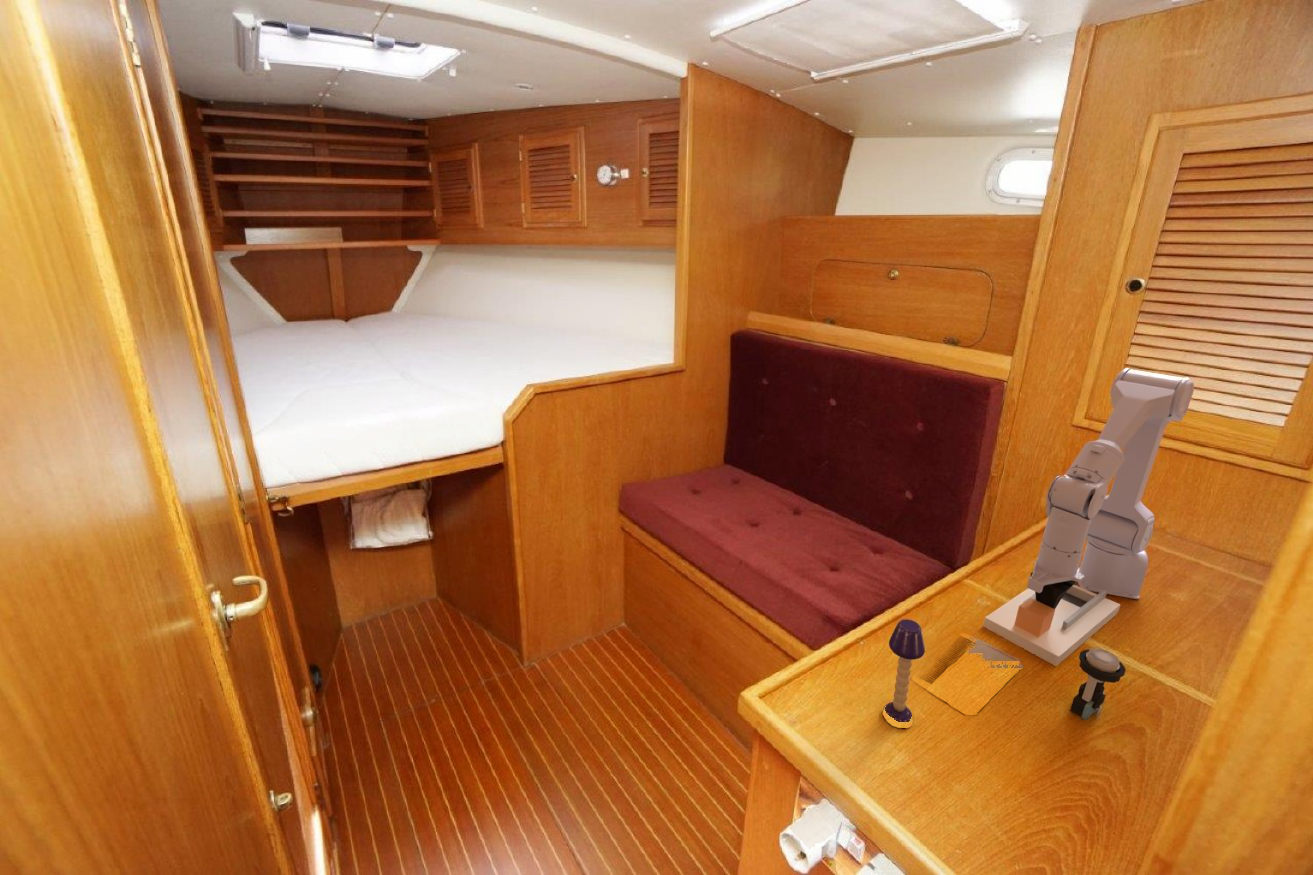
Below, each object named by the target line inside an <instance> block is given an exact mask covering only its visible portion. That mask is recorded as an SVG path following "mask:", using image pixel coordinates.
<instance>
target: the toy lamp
mask: <svg viewBox="0 0 1313 875" xmlns="http://www.w3.org/2000/svg"><path fill="white" fill-rule="evenodd" d="M888 642H889V643H888V646H889V649H890V650H891V651H892V653H894V654H895V655H896V656H898V659H897V660H898V661H897V663H898V665H897V669H896V673H897V674H896V676H895V684H894V689H895V690H894V692H893V701H891V702H888V703H887V704H886V705H885V706H886V707H885V706H884V707H885V711H886V713H887V714H888V715H889V716H890V717H892V718H894V720H896V721H898V722H909V721H910V719H911V717H912V715H913V713H912V711H911V709H910V708H909V707H908V706H907V702H906V701H907V699H908V693H909V684H910V682H911V678H910V676H911V668H912V665H913V661H914V660H920V659H921V658H922V657H924V655H925V652H926V647H925V640H924V636H923V630H922V627H921V625H920V624H919V623H918V622H917V621H915V620H913V619H908V618H907V619H906V618H905V619H900V621H898V622H897V624H896V626H895V628H894V629H893V632H892V633H891V636H890V638H889V641H888ZM912 660H913V661H912Z"/></svg>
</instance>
